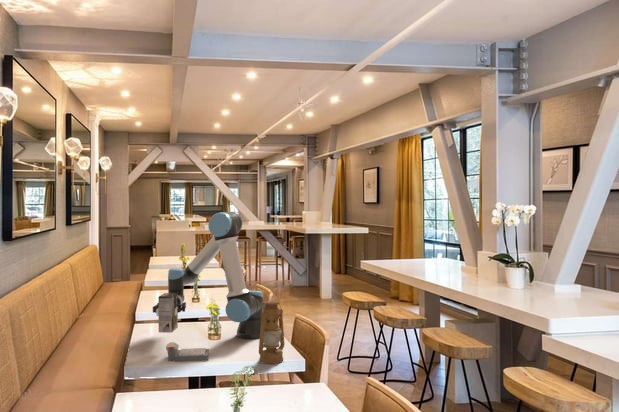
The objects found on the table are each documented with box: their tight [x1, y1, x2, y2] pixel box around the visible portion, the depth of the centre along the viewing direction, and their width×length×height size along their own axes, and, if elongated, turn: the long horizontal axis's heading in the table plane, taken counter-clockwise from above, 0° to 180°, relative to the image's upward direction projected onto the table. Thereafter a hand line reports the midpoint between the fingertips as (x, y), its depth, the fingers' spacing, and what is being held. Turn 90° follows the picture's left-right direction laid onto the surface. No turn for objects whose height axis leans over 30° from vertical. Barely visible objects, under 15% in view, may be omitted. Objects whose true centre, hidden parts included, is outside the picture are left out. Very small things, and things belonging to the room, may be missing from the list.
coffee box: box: [157, 292, 179, 334], centre depth 230 cm, size 9×6×16 cm
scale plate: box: [179, 347, 207, 356], centre depth 222 cm, size 11×9×1 cm
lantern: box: [258, 290, 285, 365], centre depth 218 cm, size 15×10×30 cm
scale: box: [165, 341, 210, 363], centre depth 222 cm, size 18×10×8 cm, turn 98°
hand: (166, 312), depth 225 cm, fingers closed on coffee box, 7 cm apart
